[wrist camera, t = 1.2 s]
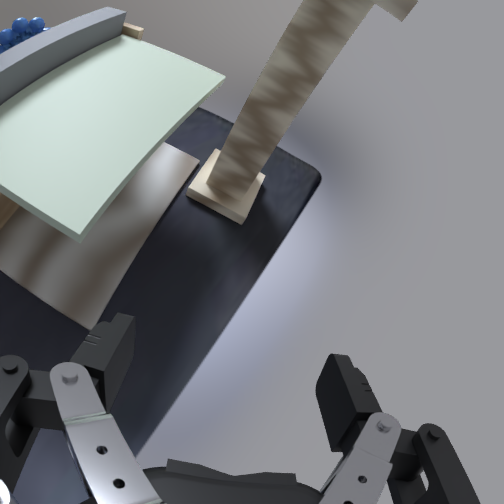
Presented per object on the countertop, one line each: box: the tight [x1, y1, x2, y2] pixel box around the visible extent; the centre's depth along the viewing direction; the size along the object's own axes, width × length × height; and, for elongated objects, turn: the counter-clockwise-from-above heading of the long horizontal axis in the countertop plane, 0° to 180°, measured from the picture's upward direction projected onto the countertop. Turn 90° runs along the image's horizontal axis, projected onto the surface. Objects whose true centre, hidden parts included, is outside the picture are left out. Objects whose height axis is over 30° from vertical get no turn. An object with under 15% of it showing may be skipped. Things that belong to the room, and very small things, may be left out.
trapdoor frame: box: [0, 22, 200, 331], centre depth 28 cm, size 18×27×16 cm
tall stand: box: [186, 0, 418, 225], centre depth 29 cm, size 8×14×32 cm, turn 162°
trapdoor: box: [0, 7, 226, 243], centre depth 21 cm, size 17×24×4 cm
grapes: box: [0, 18, 51, 54], centre depth 33 cm, size 12×7×12 cm, turn 138°
